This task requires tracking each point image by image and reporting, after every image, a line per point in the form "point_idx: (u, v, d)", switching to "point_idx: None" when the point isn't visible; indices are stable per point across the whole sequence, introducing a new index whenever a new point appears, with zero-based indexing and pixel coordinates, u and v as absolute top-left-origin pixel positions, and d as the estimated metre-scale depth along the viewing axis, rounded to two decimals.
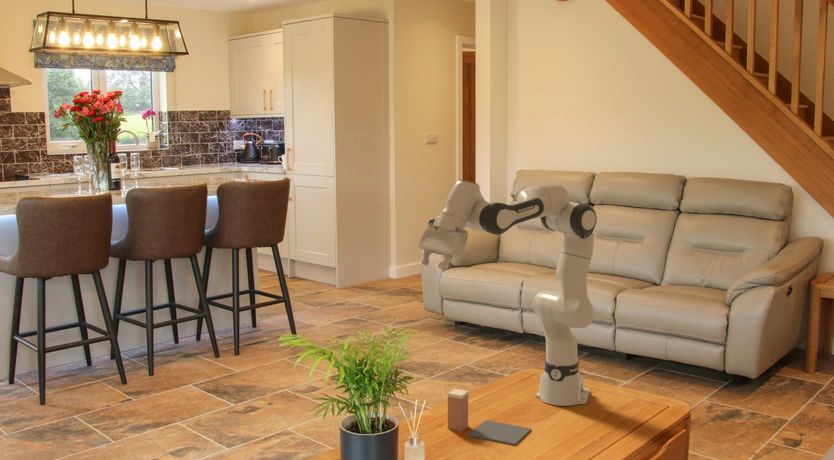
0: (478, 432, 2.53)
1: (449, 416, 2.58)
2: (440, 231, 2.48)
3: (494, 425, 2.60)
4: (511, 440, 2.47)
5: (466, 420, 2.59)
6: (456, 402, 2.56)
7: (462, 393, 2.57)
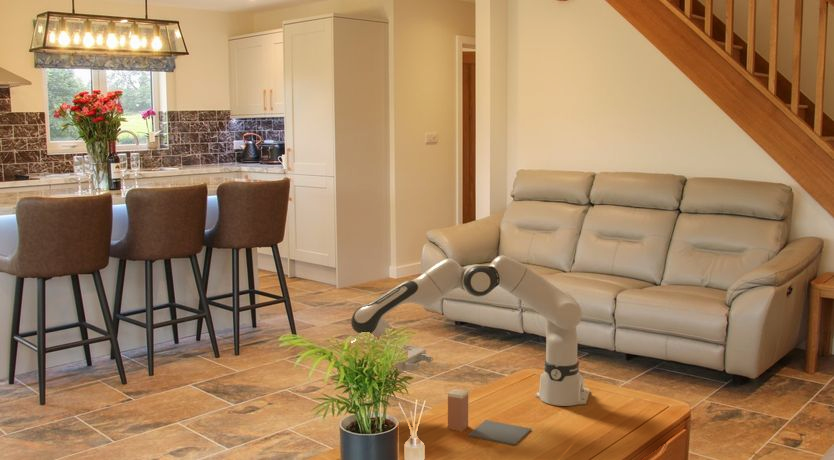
0: (478, 432, 2.53)
1: (449, 416, 2.58)
2: None
3: (494, 425, 2.60)
4: (511, 440, 2.47)
5: (466, 420, 2.59)
6: (456, 402, 2.56)
7: (462, 393, 2.57)
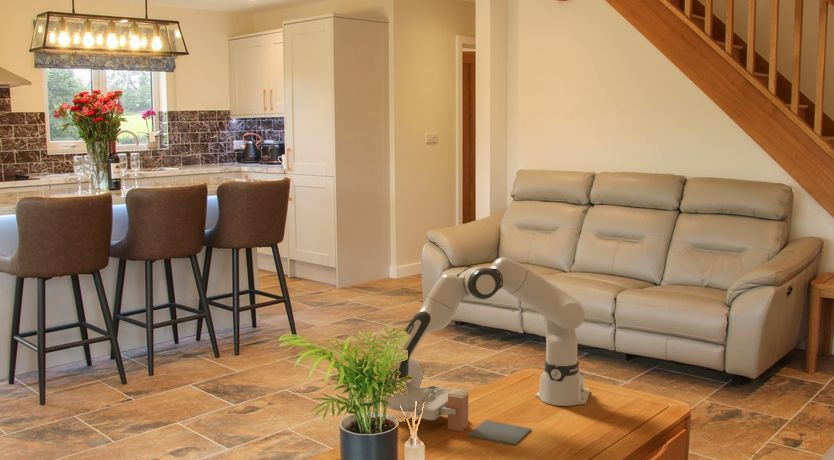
0: (478, 432, 2.53)
1: (449, 415, 2.58)
2: None
3: (494, 425, 2.60)
4: (511, 440, 2.47)
5: (466, 420, 2.59)
6: (456, 402, 2.56)
7: (462, 393, 2.57)
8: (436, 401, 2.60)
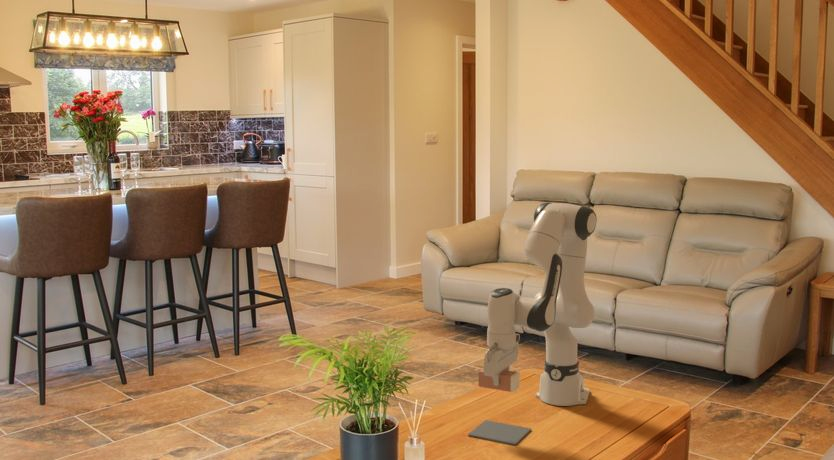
0: (478, 432, 2.53)
1: None
2: None
3: (494, 425, 2.60)
4: (511, 440, 2.47)
5: None
6: (505, 385, 2.49)
7: (515, 388, 2.50)
8: (503, 361, 2.49)
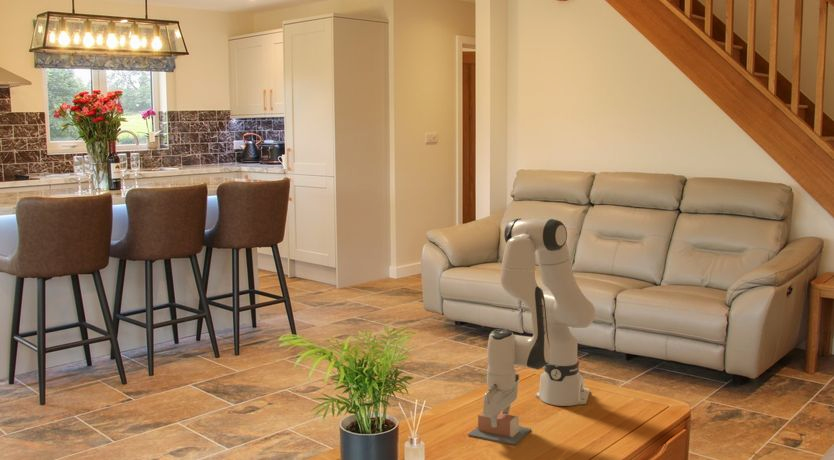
0: (478, 432, 2.53)
1: None
2: None
3: None
4: (511, 440, 2.47)
5: None
6: (505, 429, 2.51)
7: (515, 432, 2.51)
8: (503, 401, 2.50)
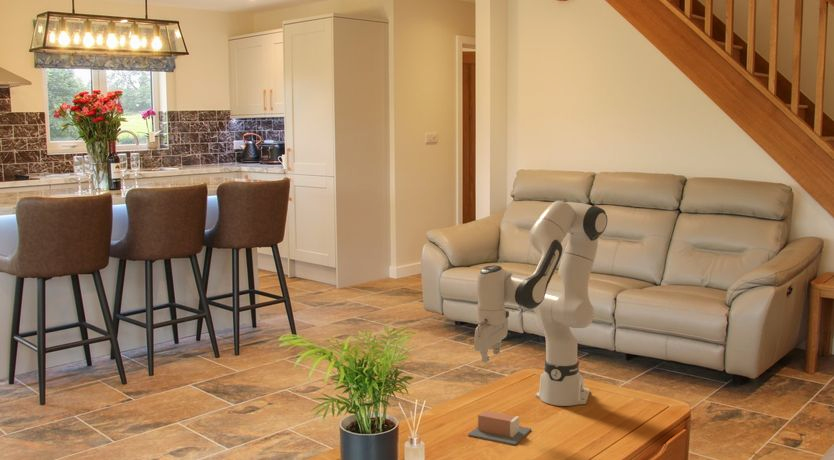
0: (478, 432, 2.53)
1: (490, 419, 2.53)
2: None
3: None
4: (511, 440, 2.47)
5: None
6: (505, 429, 2.51)
7: (515, 432, 2.51)
8: (493, 336, 2.53)
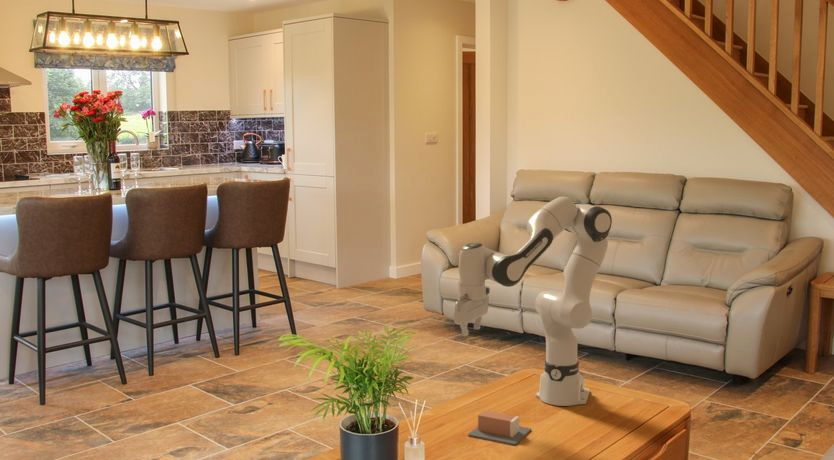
0: (478, 432, 2.53)
1: (490, 419, 2.53)
2: None
3: None
4: (511, 440, 2.47)
5: None
6: (505, 429, 2.51)
7: (515, 432, 2.51)
8: (473, 311, 2.63)
